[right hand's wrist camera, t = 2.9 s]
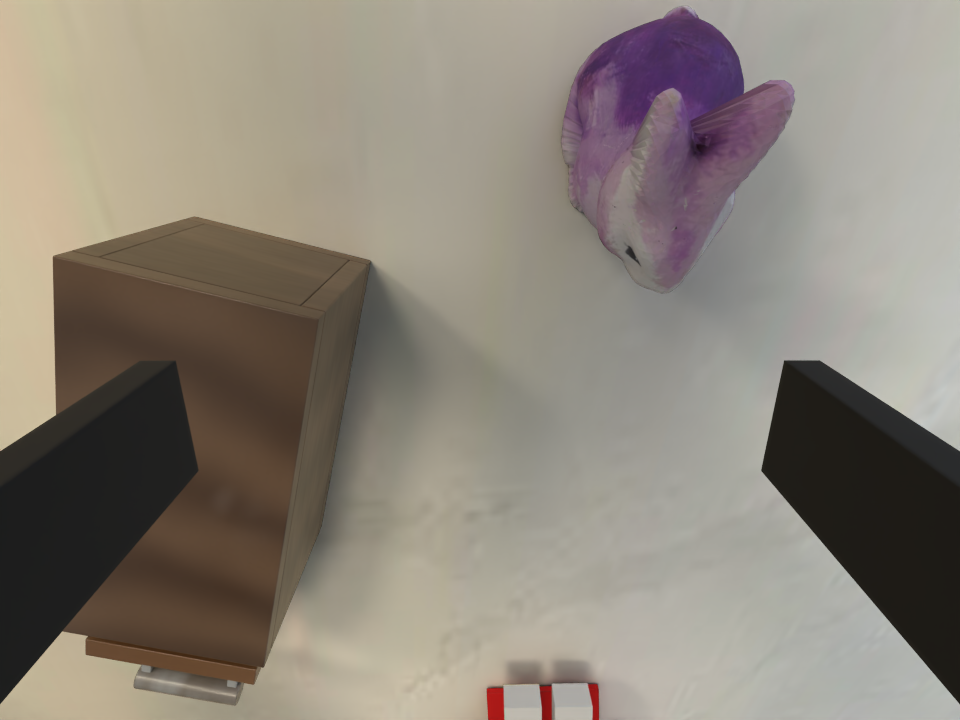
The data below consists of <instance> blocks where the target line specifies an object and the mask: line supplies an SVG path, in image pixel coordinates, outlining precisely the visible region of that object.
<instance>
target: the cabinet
mask: <svg viewBox="0 0 960 720" xmlns="http://www.w3.org/2000/svg"><path fill="white" fill-rule="evenodd" d="M370 262H371V261H370V260H366V259H362V258H358V257H354V256H350V255H346V254H342V253H338V252H334V251H330V250H326V249H322V248H318V247H314V246H310V245H306V244H302V243H298V242H294V241H290V240H286V239H282V238H278V237H274V236H270V235H266V234H262V233H258V232H254V231H250V230H246V229H242V228H238V227H234V226H230V225H226V224H222V223H218V222H214V221H210V220H206V219H202V218H198V217H191V218H187V219H184V220H180V221H177V222H173V223H169V224H166V225H162V226H159V227H155V228H151V229H148V230H144V231H141V232H137V233H134V234H130V235H126V236H123V237H119V238H116V239H112V240H108V241H105V242H101V243H98V244H94V245H90V246H87V247H83V248H80V249H76V250H72V251H69V252H66V253H62V254H59V255H55V256H53V286H54V334H55V382H56V415H57V414H59V413H60V412H62V411H63V410H65V409H66V408H68V407H70V406H71V405H73V404H74V403H76V402H77V401H79V400H80V399H82V398H83V397H85V396H86V395H88V394H90V393H91V392H93V391H94V390H96V389H97V388H99V387H100V386H102V385H103V384H105V383H107V382H108V381H110V380H111V379H113V378H114V377H116V376H117V375H119V374H120V373H122V372H123V371H125V370H127V369H128V368H130V367H131V366H133V365H134V364H136V363H137V362H139V361H176V364H177V369H178V374H179V378H180V383H181V388H182V393H183V398H184V402H185V407H186V412H187V417H188V422H189V426H190V431H191V436H192V441H193V446H194V450H195V455H196V460H197V465H198V469H199V471H198V472H197V473H196V475H195V476H194V477H193V478H192V479H191V480H190V482H189V483H188V484H187V485H186V486H185V487H184V489H183V490H182V491H181V492H180V493H179V495H178V496H177V497H176V498H175V499H174V500H173V502H172V503H171V504H170V505H169V506H168V507H167V509H166V510H165V511H164V512H163V513H162V514H161V516H160V517H159V518H158V519H157V520H156V522H155V523H154V524H153V525H152V526H151V527H150V529H149V530H148V531H147V532H146V533H145V534H144V536H143V537H142V538H141V539H140V540H139V542H138V543H137V544H136V545H135V546H134V547H133V549H132V550H131V551H130V552H129V553H128V554H127V556H126V557H125V558H124V559H123V560H122V561H121V563H120V564H119V565H118V566H117V567H116V569H115V570H114V571H113V572H112V573H111V574H110V576H109V577H108V578H107V579H106V580H105V581H104V583H103V584H102V585H101V586H100V587H99V589H98V590H97V591H96V592H95V593H94V594H93V596H92V597H91V598H90V599H89V600H88V601H87V603H86V604H85V605H84V606H83V607H82V608H81V610H80V611H79V612H78V613H77V614H76V616H75V617H74V618H73V619H72V620H71V621H70V623H69V624H68V625H67V626H66V627H65V628H64V630H63V631H64V632H69V633H75V634H80V635H86V636H91V637H97V638H102V639H108V640H114V641H119V642H125V643H130V644H136V645H141V646H147V647H152V648H158V649H163V650H169V651H174V652H180V653H185V654H191V655H196V656H202V657H207V658H213V659H218V660H224V661H229V662H235V663H240V664H246V665H251V666H257V667H262V668H263V667H264V666H265V663H266V661H267V658H268V656H269V653H270V651H271V648H272V646H273V643H274V641H275V638H276V636H277V634H278V631H279V629H280V626H281V624H282V621H283V619H284V616H285V614H286V612H287V609H288V607H289V604H290V602H291V599H292V597H293V594H294V592H295V590H296V587H297V585H298V582H299V580H300V577H301V575H302V572H303V570H304V568H305V565H306V563H307V560H308V558H309V555H310V553H311V550H312V548H313V546H314V543H315V541H316V538H317V536H318V534H319V531H320V529H321V526H322V520H323V515H324V510H325V504H326V499H327V493H328V488H329V483H330V477H331V472H332V467H333V461H334V456H335V450H336V445H337V440H338V434H339V429H340V424H341V418H342V413H343V407H344V402H345V397H346V391H347V386H348V381H349V375H350V370H351V365H352V359H353V354H354V348H355V343H356V338H357V332H358V327H359V322H360V316H361V311H362V305H363V300H364V295H365V289H366V284H367V279H368V273H369V268H370Z"/></svg>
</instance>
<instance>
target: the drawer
mask: <svg viewBox="0 0 960 720" xmlns="http://www.w3.org/2000/svg"><path fill="white" fill-rule="evenodd" d="M86 655H90V656H96V657H101V658H107V659H112V660H118V661H124V662H129V663H135V664H140V665H142V666H141V667H140V669H139V670H138V672H137V675H136V677H135V680H134V688H136V689H142V690H148V691H153V692H159V693H165V694H171V695H176V696H182V697H188V698H193V699H199V700H205V701H211V702H216V703H222V704H228V705H234V706H235V705H236V704H237V703H238V701H239V698H240V696H241V693H242V689H243V685H244V683H247V684H252V685H254V684H255V681H256V679H257V676H258V674H259V672H260V669H261V667H257V666H251V665H246V664H240V663H235V662H229V661H224V660H218V659H213V658H207V657H202V656H196V655H191V654H185V653H180V652H174V651H169V650H163V649H158V648H152V647H147V646H141V645H136V644H130V643H125V642H119V641H114V640H108V639H102V638H97V637H91V636H88V637H87V638H86Z"/></svg>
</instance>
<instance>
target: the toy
mask: <svg viewBox="0 0 960 720" xmlns="http://www.w3.org/2000/svg"><path fill="white" fill-rule="evenodd" d="M503 686H504V688H489V689H487V705H488V720H599V689H598V685H597V684H589V685H588V683H565V684H552V686H539V684H509V685H503Z"/></svg>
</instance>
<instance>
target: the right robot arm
mask: <svg viewBox="0 0 960 720" xmlns="http://www.w3.org/2000/svg"><path fill="white" fill-rule="evenodd" d="M198 471H199V469H198V465H197V460H196V455H195V450H194V446H193V441H192V436H191V431H190V426H189V422H188V417H187V412H186V407H185V402H184V398H183V393H182V388H181V383H180V378H179V374H178V369H177V364H176V361H139V362H137V363H136V364H134V365H133V366H131V367H130V368H128V369H127V370H125V371H123V372H122V373H120V374H119V375H117V376H116V377H114V378H113V379H111V380H110V381H108V382H107V383H105V384H103V385H102V386H100V387H99V388H97V389H96V390H94V391H93V392H91V393H90V394H88V395H86V396H85V397H83V398H82V399H80V400H79V401H77V402H76V403H74V404H73V405H71V406H70V407H68V408H66V409H65V410H63V411H62V412H60V413H59V414H57V415H56V416H54V417H53V418H51V419H50V420H48V421H46V422H45V423H43V424H42V425H40V426H39V427H37V428H36V429H34V430H33V431H31V432H29V433H28V434H26V435H25V436H23V437H22V438H20V439H19V440H17V441H16V442H14V443H13V444H11V445H9V446H8V447H6V448H5V449H3V450H2V451H0V704H1V702H2V701H3V700H4V699H5V698H6V697H7V695H8V694H9V693H10V692H11V691H12V690H13V688H14V687H15V686H16V685H17V684H18V683H19V681H20V680H21V679H22V678H23V677H24V675H25V674H26V673H27V672H28V671H29V670H30V668H31V667H32V666H33V665H34V664H35V663H36V661H37V660H38V659H39V658H40V657H41V655H42V654H43V653H44V652H45V651H46V650H47V648H48V647H49V646H50V645H51V644H52V643H53V641H54V640H55V639H56V638H57V637H58V636H59V634H60V633H61V632H62V631H63V630H64V628H65V627H66V626H67V625H68V624H69V623H70V621H71V620H72V619H73V618H74V617H75V616H76V614H77V613H78V612H79V611H80V610H81V608H82V607H83V606H84V605H85V604H86V603H87V601H88V600H89V599H90V598H91V597H92V596H93V594H94V593H95V592H96V591H97V590H98V589H99V587H100V586H101V585H102V584H103V583H104V581H105V580H106V579H107V578H108V577H109V576H110V574H111V573H112V572H113V571H114V570H115V569H116V567H117V566H118V565H119V564H120V563H121V561H122V560H123V559H124V558H125V557H126V556H127V554H128V553H129V552H130V551H131V550H132V549H133V547H134V546H135V545H136V544H137V543H138V542H139V540H140V539H141V538H142V537H143V536H144V534H145V533H146V532H147V531H148V530H149V529H150V527H151V526H152V525H153V524H154V523H155V522H156V520H157V519H158V518H159V517H160V516H161V514H162V513H163V512H164V511H165V510H166V509H167V507H168V506H169V505H170V504H171V503H172V502H173V500H174V499H175V498H176V497H177V496H178V495H179V493H180V492H181V491H182V490H183V489H184V487H185V486H186V485H187V484H188V483H189V482H190V480H191V479H192V478H193V477H194V476H195V475H196V473H197V472H198ZM761 471H762V472H763V473H764V475H765V476H766V477H767V478H768V479H769V480H770V482H771V483H772V484H773V485H774V486H775V487H776V489H777V490H778V491H779V492H780V493H781V495H782V496H783V497H784V498H785V499H786V500H787V502H788V503H789V504H790V505H791V506H792V507H793V509H794V510H795V511H796V512H797V513H798V514H799V516H800V517H801V518H802V519H803V520H804V522H805V523H806V524H807V525H808V526H809V527H810V529H811V530H812V531H813V532H814V533H815V534H816V536H817V537H818V538H819V539H820V540H821V542H822V543H823V544H824V545H825V546H826V547H827V549H828V550H829V551H830V552H831V553H832V554H833V556H834V557H835V558H836V559H837V560H838V561H839V563H840V564H841V565H842V566H843V567H844V569H845V570H846V571H847V572H848V573H849V574H850V576H851V577H852V578H853V579H854V580H855V581H856V583H857V584H858V585H859V586H860V587H861V589H862V590H863V591H864V592H865V593H866V594H867V596H868V597H869V598H870V599H871V600H872V601H873V603H874V604H875V605H876V606H877V607H878V608H879V610H880V611H881V612H882V613H883V614H884V616H885V617H886V618H887V619H888V620H889V621H890V623H891V624H892V625H893V626H894V627H895V628H896V630H897V631H898V632H899V633H900V634H901V636H902V637H903V638H904V639H905V640H906V641H907V643H908V644H909V645H910V646H911V647H912V648H913V650H914V651H915V652H916V653H917V654H918V655H919V657H920V658H921V659H922V660H923V661H924V663H925V664H926V665H927V666H928V667H929V668H930V670H931V671H932V672H933V673H934V674H935V675H936V677H937V678H938V679H939V680H940V681H941V683H942V684H943V685H944V686H945V687H946V688H947V690H948V691H949V692H950V693H951V694H952V695H953V697H954V698H955V699H956V700H957V701H958V703H959V704H960V451H958V450H957V449H955V448H954V447H952V446H951V445H949V444H947V443H946V442H944V441H943V440H941V439H940V438H938V437H937V436H935V435H934V434H932V433H931V432H929V431H927V430H926V429H924V428H923V427H921V426H920V425H918V424H917V423H915V422H914V421H912V420H910V419H909V418H907V417H906V416H904V415H903V414H901V413H900V412H898V411H897V410H895V409H894V408H892V407H890V406H889V405H887V404H886V403H884V402H883V401H881V400H880V399H878V398H877V397H875V396H873V395H872V394H870V393H869V392H867V391H866V390H864V389H863V388H861V387H860V386H858V385H857V384H855V383H853V382H852V381H850V380H849V379H847V378H846V377H844V376H843V375H841V374H840V373H838V372H837V371H835V370H833V369H832V368H830V367H829V366H827V365H826V364H824V363H823V362H821V361H784V364H783V369H782V374H781V378H780V383H779V388H778V393H777V398H776V402H775V407H774V412H773V417H772V422H771V426H770V431H769V436H768V441H767V445H766V450H765V455H764V460H763V465H762V469H761Z"/></svg>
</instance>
